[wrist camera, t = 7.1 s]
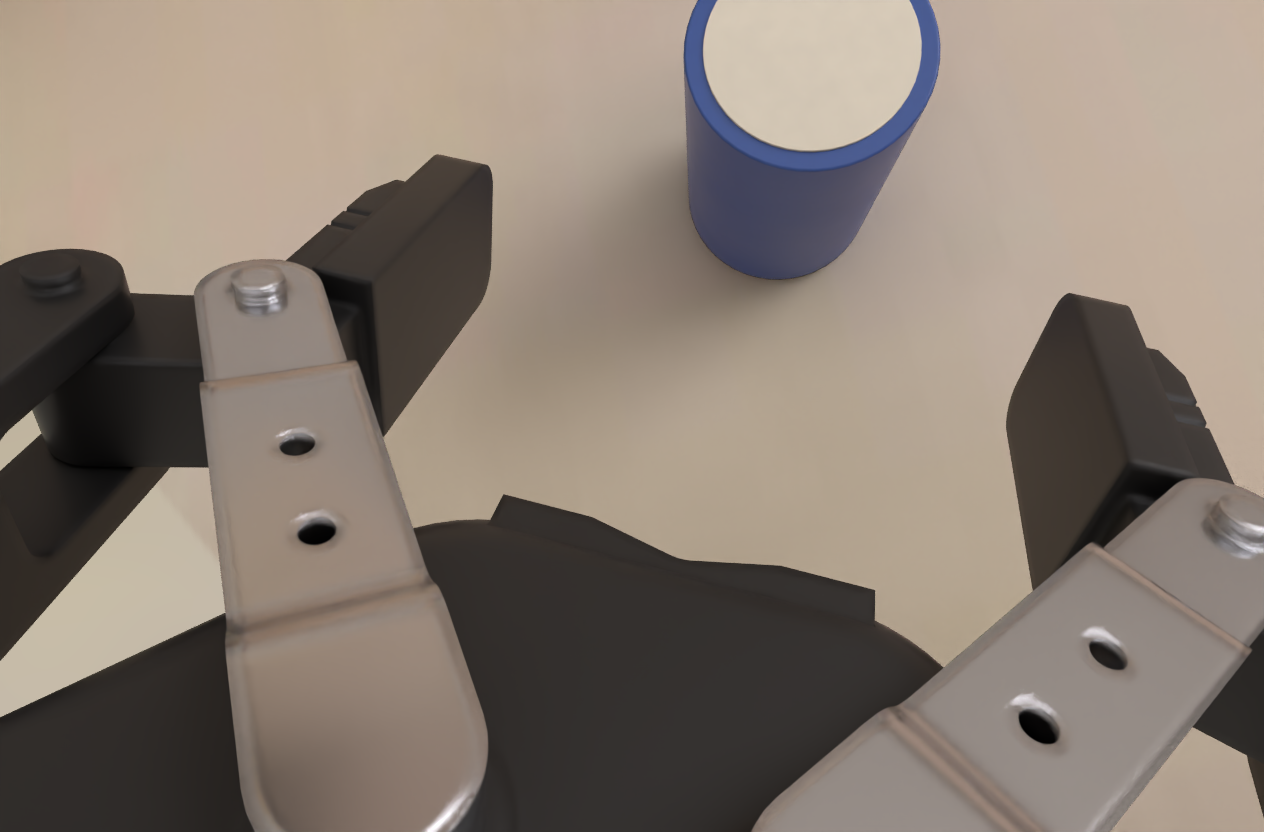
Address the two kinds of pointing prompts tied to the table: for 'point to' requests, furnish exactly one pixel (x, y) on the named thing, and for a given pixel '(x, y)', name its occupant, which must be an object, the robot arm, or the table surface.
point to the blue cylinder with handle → (799, 121)
